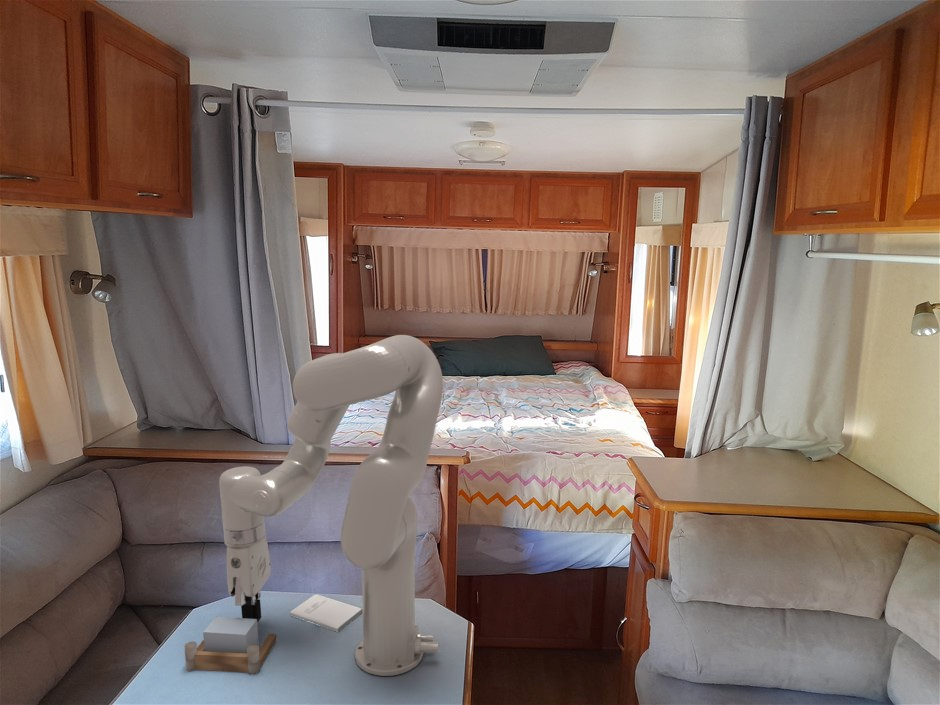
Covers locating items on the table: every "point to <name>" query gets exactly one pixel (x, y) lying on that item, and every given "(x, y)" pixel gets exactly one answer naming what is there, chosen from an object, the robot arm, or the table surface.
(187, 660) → the frame
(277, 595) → the table surface
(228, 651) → the tall white block
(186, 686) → the table surface
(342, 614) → the external hard drive
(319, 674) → the table surface
